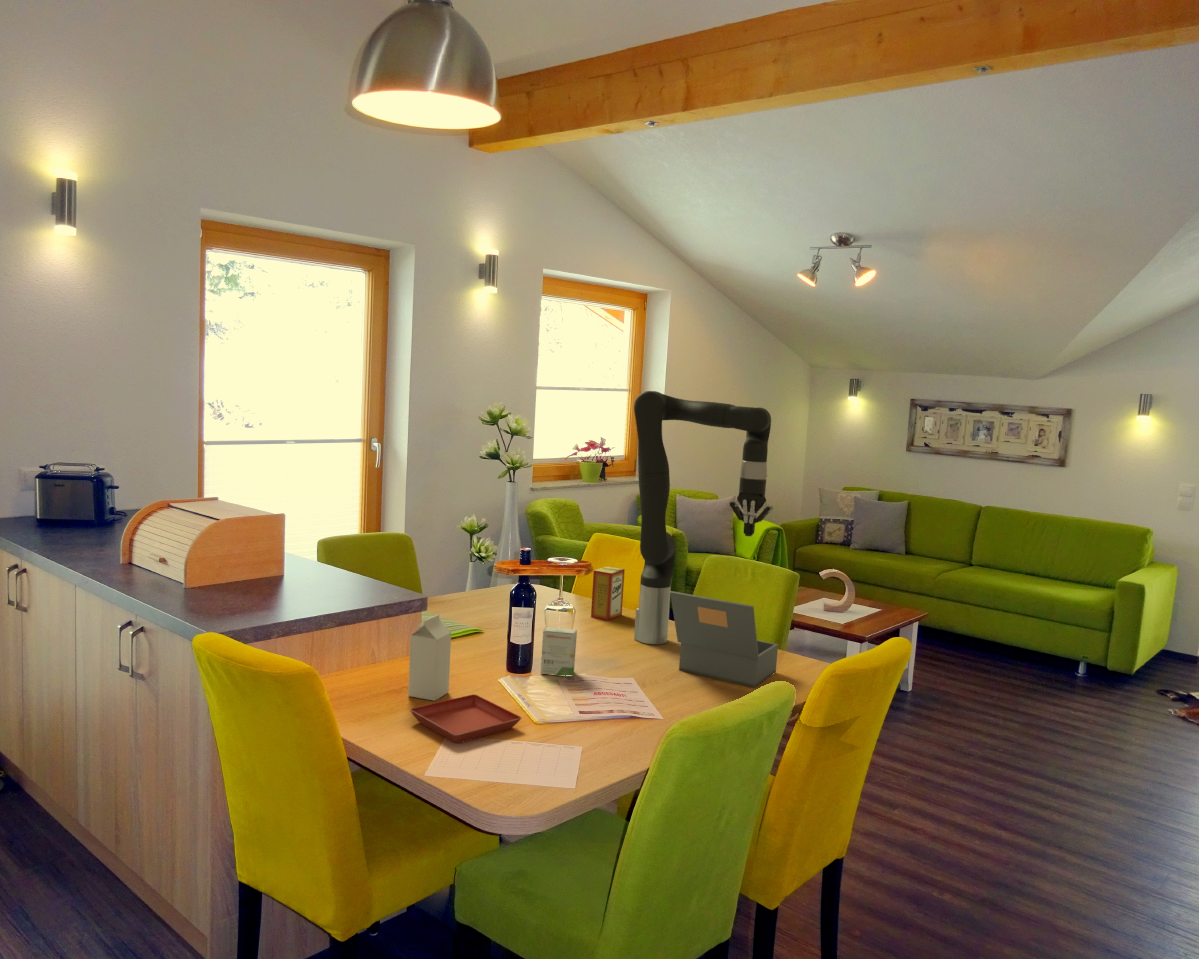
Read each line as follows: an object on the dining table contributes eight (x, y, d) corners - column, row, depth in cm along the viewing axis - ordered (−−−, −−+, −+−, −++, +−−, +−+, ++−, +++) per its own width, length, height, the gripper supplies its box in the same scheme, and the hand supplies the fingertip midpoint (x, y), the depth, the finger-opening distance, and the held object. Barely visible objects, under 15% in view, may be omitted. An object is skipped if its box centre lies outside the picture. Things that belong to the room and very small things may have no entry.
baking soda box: (608, 620, 302) (611, 572, 300) (590, 617, 305) (593, 569, 303) (621, 615, 310) (624, 567, 308) (604, 611, 313) (607, 565, 312)
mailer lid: (678, 640, 253) (677, 642, 252) (671, 591, 245) (670, 592, 245) (758, 657, 241) (757, 659, 241) (753, 605, 234) (752, 607, 233)
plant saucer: (522, 731, 205) (523, 716, 205) (454, 749, 192) (455, 734, 192) (474, 707, 218) (474, 693, 217) (407, 723, 205) (408, 708, 205)
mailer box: (678, 670, 254) (680, 641, 253) (702, 656, 268) (704, 629, 267) (755, 687, 243) (757, 657, 242) (775, 672, 257) (778, 644, 256)
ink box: (539, 675, 243) (542, 630, 242) (543, 669, 248) (545, 625, 247) (572, 677, 242) (575, 633, 241) (575, 671, 247) (577, 628, 246)
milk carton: (448, 692, 225) (452, 616, 223) (434, 701, 219) (437, 622, 217) (423, 688, 228) (426, 612, 226) (407, 696, 221) (410, 618, 219)
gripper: (726, 475, 268) (722, 534, 270) (770, 479, 262) (765, 540, 263) (736, 473, 275) (732, 531, 277) (779, 478, 268) (774, 537, 270)
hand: (748, 535), depth 270 cm, fingers closed
